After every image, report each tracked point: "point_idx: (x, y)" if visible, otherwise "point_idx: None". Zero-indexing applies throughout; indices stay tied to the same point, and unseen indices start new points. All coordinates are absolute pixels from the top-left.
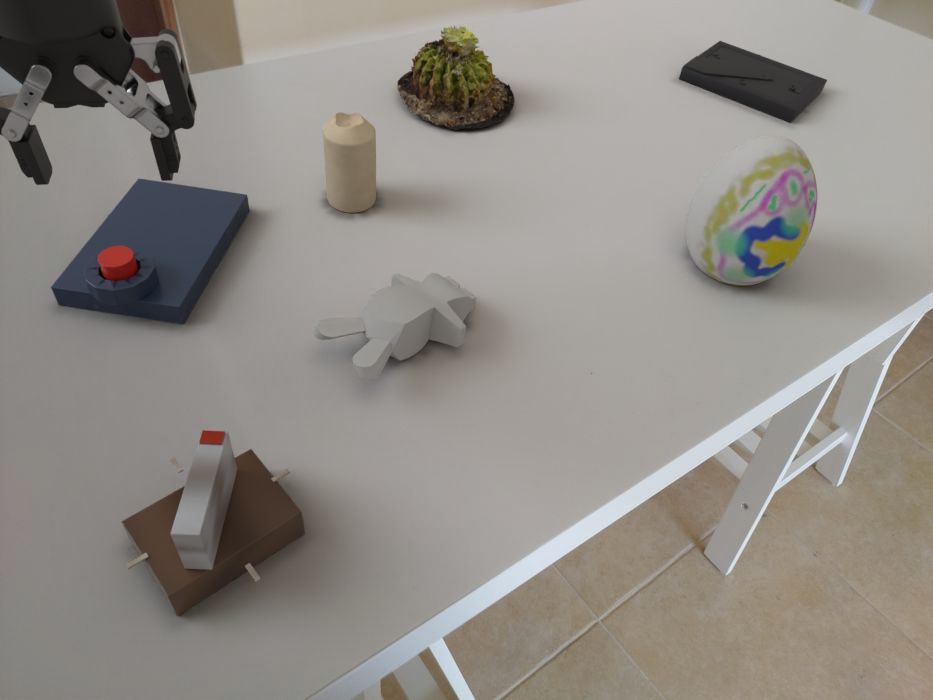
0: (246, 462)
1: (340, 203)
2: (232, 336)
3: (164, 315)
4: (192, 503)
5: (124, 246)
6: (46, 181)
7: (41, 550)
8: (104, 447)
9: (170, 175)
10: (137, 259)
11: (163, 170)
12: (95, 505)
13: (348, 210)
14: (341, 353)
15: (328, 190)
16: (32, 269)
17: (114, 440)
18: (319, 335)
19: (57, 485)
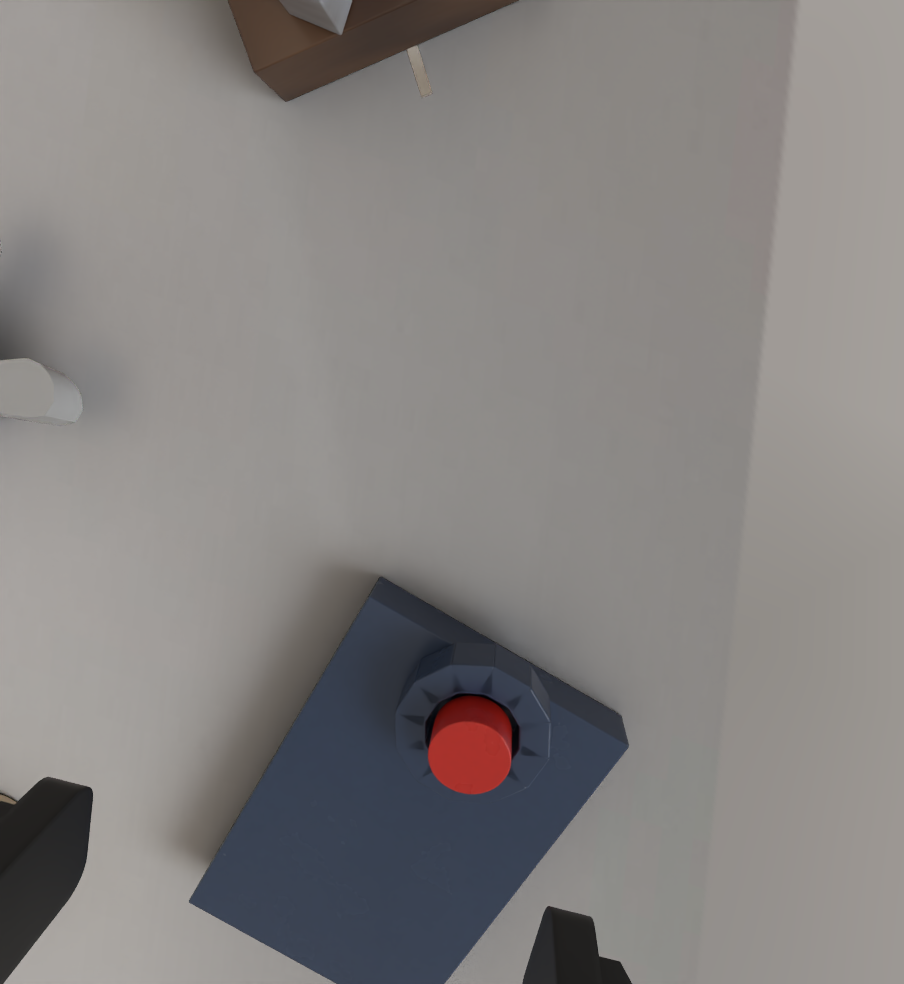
0: (268, 29)
1: None
2: (288, 508)
3: (411, 602)
4: None
5: (445, 785)
6: (547, 919)
7: (728, 30)
8: (576, 276)
9: (31, 793)
10: None
11: (31, 816)
12: (611, 118)
13: (1, 799)
14: None
15: None
16: (661, 834)
17: (554, 289)
18: (60, 378)
19: (678, 201)
